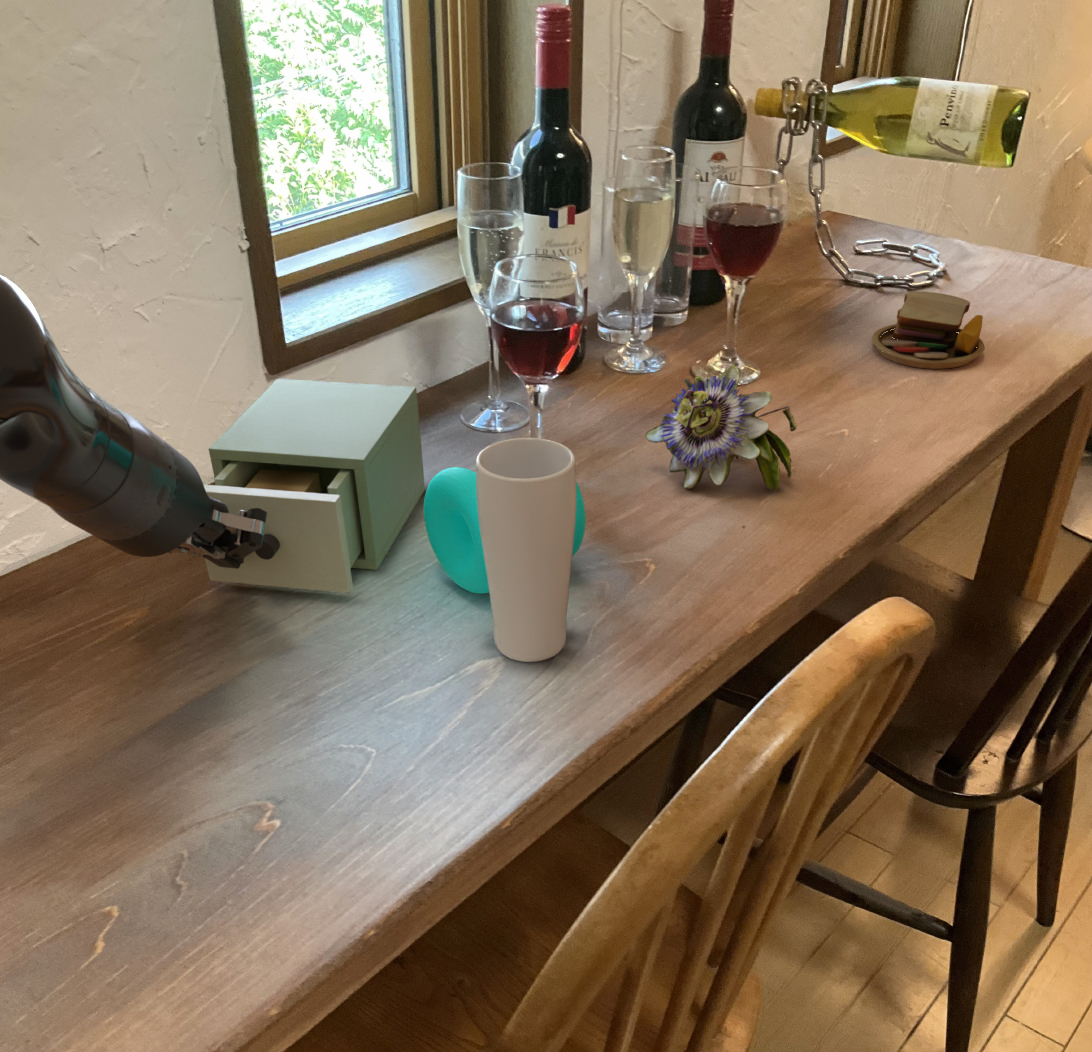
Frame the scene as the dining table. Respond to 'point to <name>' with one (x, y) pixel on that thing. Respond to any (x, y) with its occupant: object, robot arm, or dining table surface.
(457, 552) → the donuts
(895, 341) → the toy sandwich meal
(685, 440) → the passion flower
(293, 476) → the block
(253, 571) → the drawer
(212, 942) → the dining table surface
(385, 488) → the cabinet
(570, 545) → the drinking glass
